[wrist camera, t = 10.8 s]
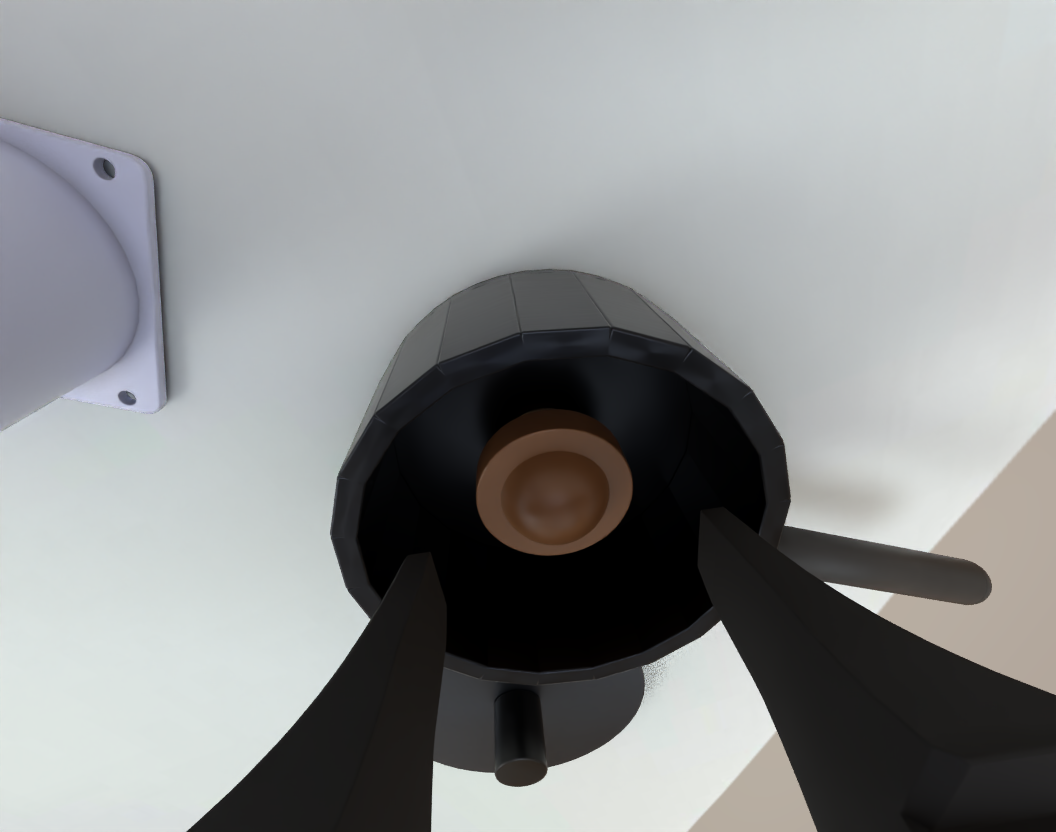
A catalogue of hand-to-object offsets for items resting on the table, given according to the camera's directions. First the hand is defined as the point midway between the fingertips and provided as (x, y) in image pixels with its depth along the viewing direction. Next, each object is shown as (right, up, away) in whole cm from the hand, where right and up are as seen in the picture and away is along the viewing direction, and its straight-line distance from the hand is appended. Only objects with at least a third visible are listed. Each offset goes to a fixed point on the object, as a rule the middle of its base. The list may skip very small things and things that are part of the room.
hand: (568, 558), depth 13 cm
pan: (0, +3, +6) cm, 6 cm away
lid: (-2, -11, +12) cm, 16 cm away
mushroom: (0, +3, +5) cm, 6 cm away
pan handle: (+10, -1, +5) cm, 11 cm away
